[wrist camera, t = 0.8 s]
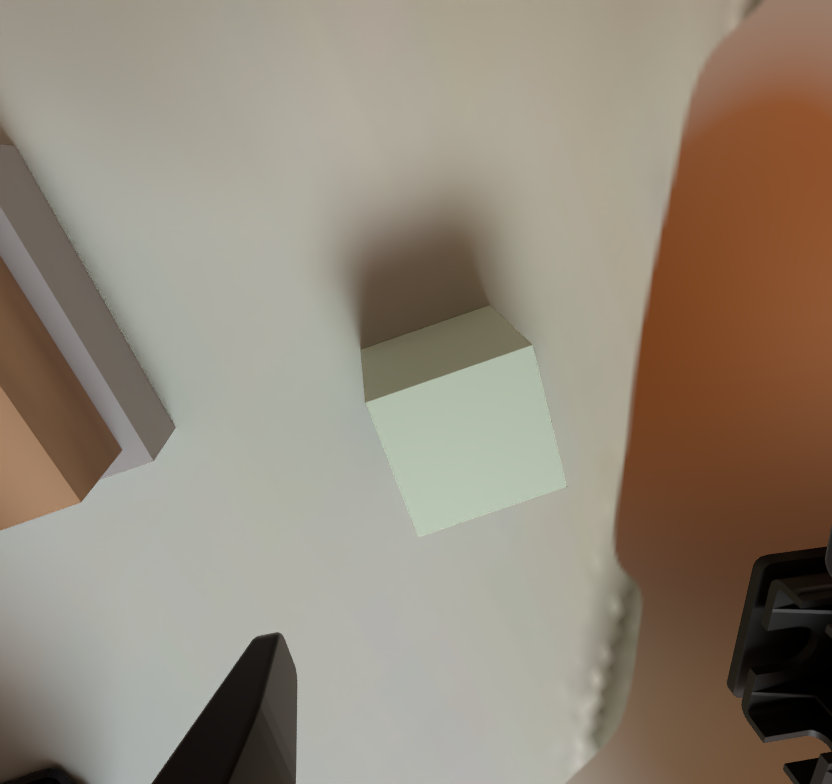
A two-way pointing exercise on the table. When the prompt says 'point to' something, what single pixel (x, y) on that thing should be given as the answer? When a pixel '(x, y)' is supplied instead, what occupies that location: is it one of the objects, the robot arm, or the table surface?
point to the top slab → (43, 418)
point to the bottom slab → (77, 317)
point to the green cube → (462, 418)
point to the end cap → (788, 655)
